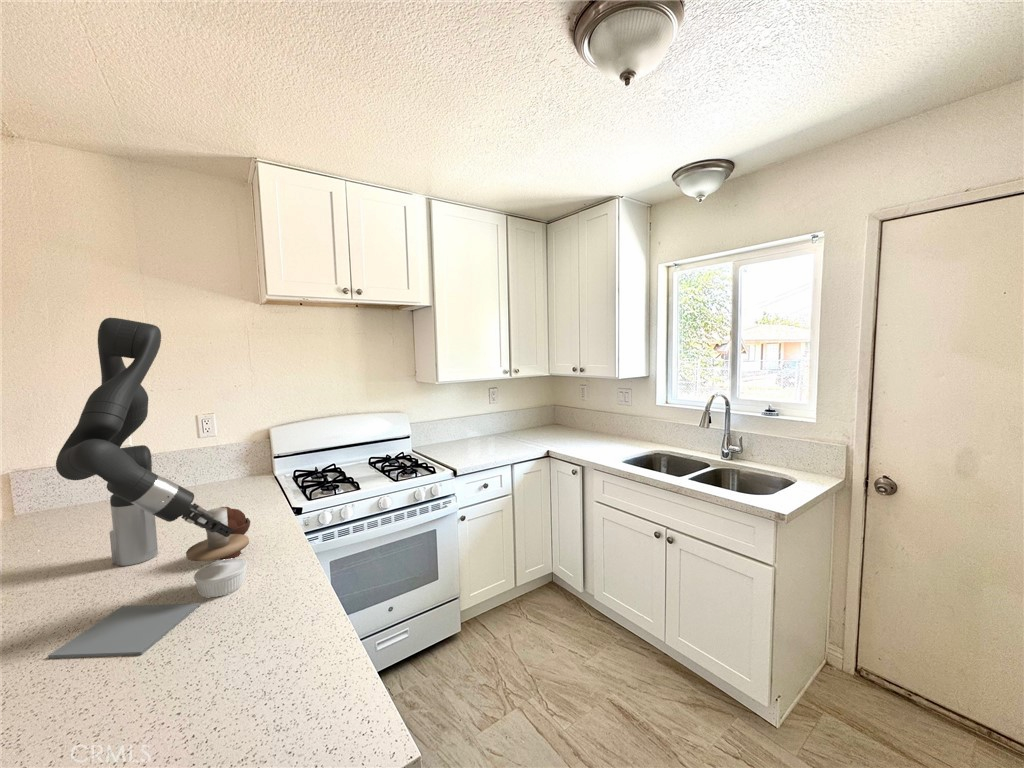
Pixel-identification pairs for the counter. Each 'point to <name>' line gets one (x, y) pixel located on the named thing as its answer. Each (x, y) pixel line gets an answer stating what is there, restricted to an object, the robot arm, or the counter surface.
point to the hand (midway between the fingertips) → (226, 530)
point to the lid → (217, 542)
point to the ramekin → (221, 577)
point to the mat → (126, 631)
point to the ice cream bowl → (236, 525)
